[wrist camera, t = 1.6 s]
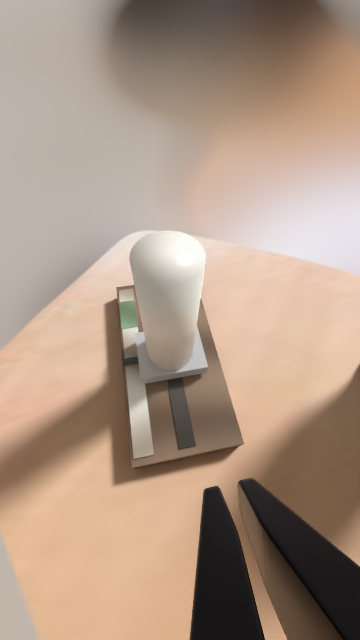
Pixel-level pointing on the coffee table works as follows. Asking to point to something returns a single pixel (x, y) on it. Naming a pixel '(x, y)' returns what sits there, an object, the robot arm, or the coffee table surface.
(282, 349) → the coffee table surface
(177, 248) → the tuning slider
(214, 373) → the board
